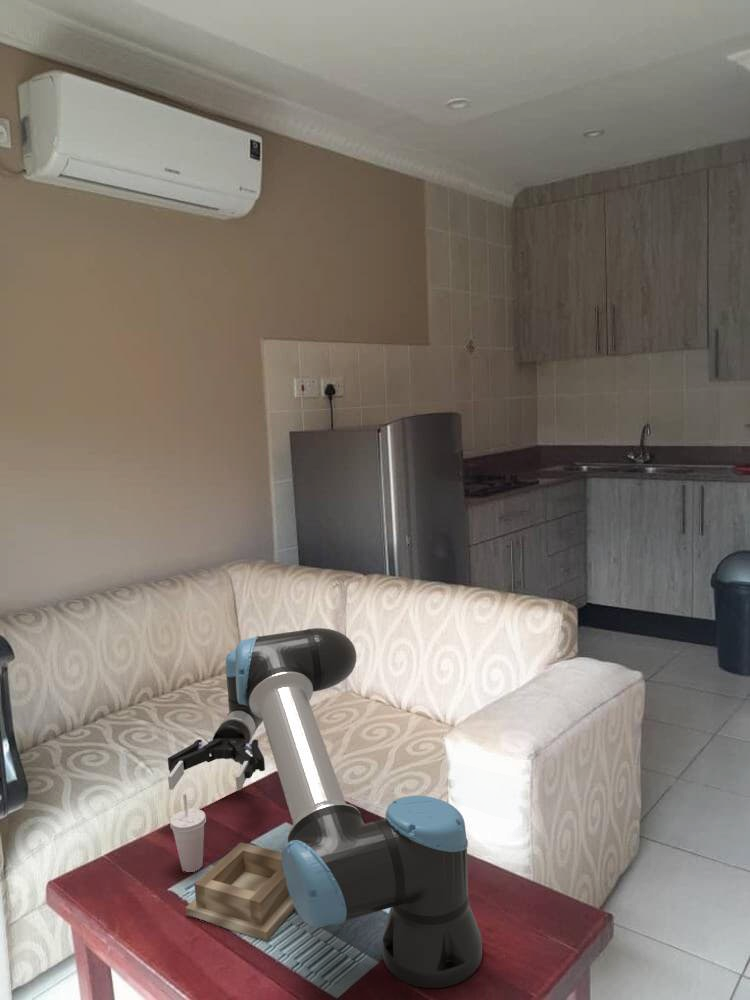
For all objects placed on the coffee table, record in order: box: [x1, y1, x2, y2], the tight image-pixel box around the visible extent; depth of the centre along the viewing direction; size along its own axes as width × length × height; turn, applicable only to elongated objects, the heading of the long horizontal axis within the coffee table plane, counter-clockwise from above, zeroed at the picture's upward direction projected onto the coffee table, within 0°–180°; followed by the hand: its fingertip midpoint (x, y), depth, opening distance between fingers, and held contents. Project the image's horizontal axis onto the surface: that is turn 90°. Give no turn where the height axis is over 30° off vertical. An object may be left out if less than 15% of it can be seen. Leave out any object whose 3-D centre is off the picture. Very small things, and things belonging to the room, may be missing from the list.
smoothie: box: [169, 793, 207, 873], centre depth 142 cm, size 6×6×14 cm
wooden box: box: [185, 841, 296, 942], centre depth 132 cm, size 16×15×6 cm
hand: (204, 783), depth 152 cm, fingers open, 13 cm apart
